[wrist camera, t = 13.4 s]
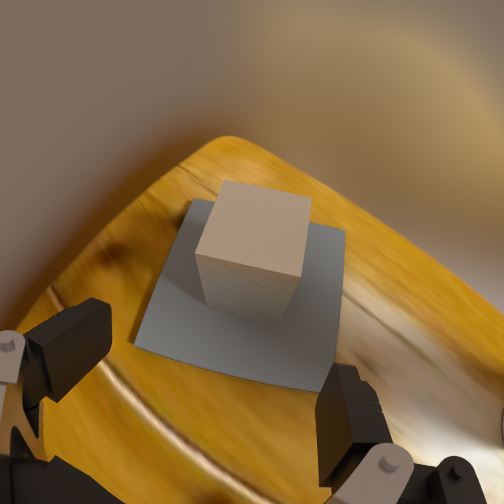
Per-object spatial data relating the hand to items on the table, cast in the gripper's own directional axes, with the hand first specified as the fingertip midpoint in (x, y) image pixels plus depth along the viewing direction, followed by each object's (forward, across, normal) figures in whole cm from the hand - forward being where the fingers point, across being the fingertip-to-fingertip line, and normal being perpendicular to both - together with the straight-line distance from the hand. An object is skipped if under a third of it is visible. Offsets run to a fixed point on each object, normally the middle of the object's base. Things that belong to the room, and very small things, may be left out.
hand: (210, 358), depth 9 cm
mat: (+16, 0, +3) cm, 16 cm away
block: (+15, 0, +2) cm, 15 cm away
